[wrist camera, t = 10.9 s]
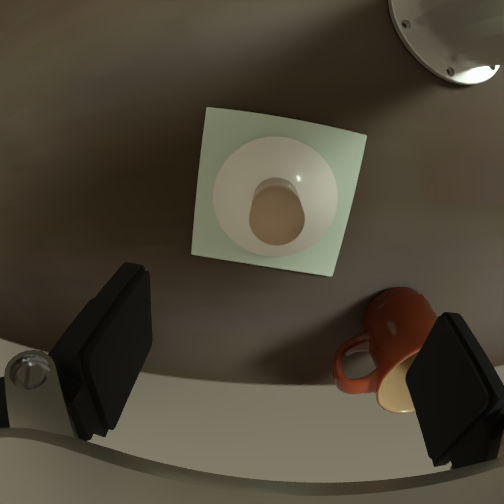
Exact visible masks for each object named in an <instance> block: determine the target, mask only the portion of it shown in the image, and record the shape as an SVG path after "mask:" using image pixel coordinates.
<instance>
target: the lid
mask: <svg viewBox="0 0 504 504" xmlns="http://www.w3.org/2000/svg"><path fill="white" fill-rule="evenodd" d="M213 203H214V209H215V213H216V216H217V219H218V221H219V223H220V225H221V227H222V228H223V230H224V231H225V233H226V234H227V235H228V236H229V237H230V238H231V239H232V240H233V241H234V242H235V243H236V244H238V245H239V246H241V247H242V248H244V249H246V250H248V251H250V252H252V253H255V254H258V255H263V256H269V257H282V256H289V255H293V254H296V253H299V252H301V251H304V250H306V249H307V248H309V247H311V246H312V245H313V244H315V243H316V242H317V241H318V240H319V239H320V238H322V236H323V235H324V234H325V233H326V232H327V230H328V229H329V227H330V225H331V223H332V221H333V219H334V217H335V213H336V210H337V204H338V191H337V185H336V181H335V177H334V175H333V173H332V170H331V169H330V167H329V165H328V164H327V162H326V161H325V160H324V159H323V157H322V156H321V155H320V154H319V153H317V152H316V151H315V150H314V149H312V148H311V147H310V146H308V145H306V144H305V143H303V142H301V141H298V140H296V139H293V138H288V137H283V136H267V137H261V138H258V139H255V140H252V141H250V142H248V143H245V144H244V145H242V146H241V147H239V148H238V149H237V150H235V151H234V152H233V153H232V154H231V155H230V156H229V157H228V158H227V160H226V161H225V162H224V164H223V165H222V167H221V168H220V170H219V172H218V174H217V177H216V180H215V184H214V190H213Z"/></svg>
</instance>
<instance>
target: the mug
mask: <svg viewBox="0 0 504 504" xmlns="http://www.w3.org/2000/svg"><path fill="white" fill-rule="evenodd" d="M437 318H438V317H437V315H436V314H435V312H434V311H433V309H432V308H431V306H430V304H429V302H428V301H427V300H426V299H425V298H424V296H423V295H422V294H419V293H418V292H417V291H415V290H413V289H411V288H407V287H396V288H392V289H389V290H387V291H384V292H383V293H381V294H380V295H378V296H377V297H376V298H375V299H374V300H373V301H372V302H371V303H370V304H369V306H368V307H367V309H366V311H365V314H364V318H363V330H364V332H363V333H360V334H358V335H356V336H354V337H353V338H351V339H350V340H348V341H346V342H345V343H343V344H342V345H341V346H340V347H339V348H338V350H337V351H336V353H335V356H334V359H333V378H334V382H335V385H336V386H337V388H338V389H339V390H341V391H342V392H344V393H347V394H362V393H371V392H374V393H376V398H377V403H378V404H379V405H380V406H381V407H382V408H383V409H385V410H387V411H389V412H393V413H410V412H416V411H415V408H414V405H413V402H412V399H411V396H410V393H409V390H408V387H407V384H406V381H405V377H406V373H407V371H408V369H409V367H410V366H411V364H412V363H413V361H414V359H415V357H416V356H417V354H418V352H419V351H420V349H421V347H422V345H423V344H424V342H425V340H426V338H427V336H428V335H429V333H430V331H431V329H432V327H433V325H434V323H435V321H436V320H437ZM363 351H364V352H368V353H370V355H371V357H372V359H373V361H374V364H375V366H376V369H375V370H374V371H373V372H371V373H370V374H369V375H367V376H365V377H363V378H359V379H349V378H347V377H345V375H344V373H343V366H342V365H343V362H344V360H345V359H346V357H347V356H349V355H350V354H353V353H355V352H363Z"/></svg>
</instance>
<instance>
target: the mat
mask: <svg viewBox="0 0 504 504" xmlns="http://www.w3.org/2000/svg"><path fill="white" fill-rule="evenodd" d="M267 136H283V137H288V138H293V139H296V140H298V141H301V142H303V143H305V144H306V145H308V146H310V147H311V148H312V149H314V150H315V151H316V152H317V153H319V154H320V155H321V156H322V157H323V159H324V160H325V161H326V162H327V164H328V165H329V167H330V169H331V170H332V173H333V175H334V177H335V181H336V185H337V191H338V204H337V210H336V213H335V217H334V219H333V221H332V223H331V225H330V227H329V229H328V230H327V232H326V233H325V234H324V235H323V236H322V238H320V239H319V240H318V241H317V242H316V243H315V244H313V245H312V246H311V247H309V248H307V249H306V250H304V251H301V252H299V253H296V254H293V255H289V256H282V257H269V256H263V255H258V254H255V253H252V252H250V251H248V250H246V249H244V248H242V247H241V246H239V245H238V244H236V243H235V242H234V241H233V240H232V239H231V238H230V237H229V236H228V235H227V234H226V233H225V231H224V230H223V228H222V227H221V225H220V223H219V221H218V219H217V216H216V213H215V209H214V203H213V190H214V184H215V180H216V177H217V174H218V172H219V170H220V168H221V167H222V165H223V164H224V162H225V161H226V160H227V158H228V157H229V156H230V155H231V154H232V153H233V152H234V151H235V150H237V149H238V148H239V147H241V146H242V145H244V144H245V143H248V142H250V141H252V140H255V139H258V138H261V137H267ZM366 138H367V135H363V134H360V133H356V132H352V131H347V130H343V129H339V128H335V127H330V126H326V125H321V124H316V123H311V122H306V121H301V120H296V119H290V118H285V117H279V116H273V115H266V114H260V113H253V112H246V111H238V110H230V109H221V108H212V107H207V108H206V115H205V123H204V131H203V139H202V147H201V155H200V164H199V173H198V183H197V193H196V203H195V214H194V225H193V238H192V251H191V255H198V256H204V257H210V258H216V259H222V260H228V261H235V262H241V263H247V264H254V265H260V266H266V267H273V268H279V269H286V270H292V271H299V272H305V273H312V274H318V275H325V276H331V277H332V275H333V272H334V269H335V265H336V262H337V258H338V255H339V251H340V247H341V244H342V240H343V236H344V233H345V229H346V225H347V221H348V217H349V213H350V209H351V205H352V201H353V197H354V193H355V189H356V184H357V180H358V176H359V171H360V167H361V162H362V157H363V153H364V148H365V143H366Z"/></svg>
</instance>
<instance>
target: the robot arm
mask: <svg viewBox="0 0 504 504" xmlns="http://www.w3.org/2000/svg"><path fill="white" fill-rule="evenodd" d="M388 5H389V13H390V16H391V19H392V22H393V25H394V27H395V29H396V31H397V33H398V35H399V37H400V39H401V40H402V42H403V43H404V45H405V46H406V48H407V49H408V50H409V52H410V53H411V54H412V55H413V56H414V57H415V59H416V60H417V61H418V62H420V63H421V64H422V65H423V66H424V67H425V68H426V69H428V70H429V71H430V72H432V73H433V74H435V75H436V76H438V77H440V78H442V79H444V80H446V81H449V82H452V83H455V84H462V85H473V84H479V83H483V82H485V81H487V80H488V79H490V78H491V77H493V75H494V74H495V73H496V72H497V71H498V68H499V66H500V65H504V0H388ZM402 24H403V25H404V27H405V28H404V27H403V26H402ZM447 72H448V73H447ZM151 345H152V321H151V299H150V273H149V271H145V268H144V266H143V265H139V264H134V263H129V262H125V263H124V264H123V265H122V266H121V267H120V268H119V269H118V270H117V272H116V273H115V274H114V275H113V276H112V278H111V279H110V280H109V281H108V282H107V284H106V285H105V286H104V287H103V288H102V290H101V291H100V292H99V293H98V294H97V296H96V297H95V298H93V299H91V300H90V301H89V302H88V303H87V305H86V306H85V307H84V308H83V310H82V311H81V312H80V313H79V315H78V316H77V317H76V318H75V320H74V321H73V322H72V323H71V325H70V326H69V327H68V329H67V330H66V331H65V332H64V334H63V335H62V336H61V338H60V339H59V340H58V342H57V343H56V344H55V346H54V347H53V348H52V350H51V351H50V352H49V354H48V355H47V354H46V353H44V352H42V351H36V350H31V351H25V352H22V353H19V354H18V355H16V356H14V357H13V358H12V359H11V360H10V361H9V362H8V364H7V366H6V369H5V375H4V377H1V378H0V504H504V385H503V383H502V381H501V380H500V378H499V376H498V374H497V372H496V371H495V369H494V367H493V366H492V364H491V362H490V360H489V359H488V357H487V355H486V354H485V352H484V351H483V349H482V347H481V346H480V344H479V342H478V341H477V339H476V338H475V336H474V335H473V333H472V331H471V330H470V328H469V327H468V325H467V324H466V322H465V321H464V319H463V318H462V316H461V315H460V314H458V313H450V312H445V313H443V314H442V315H441V316H439V317H438V318H437V320H436V321H435V323H434V325H433V327H432V329H431V331H430V333H429V335H428V336H427V338H426V340H425V342H424V344H423V345H422V347H421V349H420V351H419V352H418V354H417V356H416V357H415V359H414V361H413V363H412V364H411V366H410V367H409V369H408V371H407V373H406V377H405V381H406V384H407V387H408V390H409V393H410V396H411V399H412V402H413V405H414V408H415V411H416V415H417V418H418V421H419V424H420V428H421V431H422V434H423V438H424V441H425V445H426V448H427V452H428V455H429V457H430V458H431V459H432V461H433V464H434V467H436V466H441V465H446V464H447V463H449V462H450V461H451V463H452V466H451V467H450V470H448V471H443V472H437V473H432V474H426V475H420V476H413V477H405V478H397V479H388V480H378V481H365V482H346V483H345V482H343V483H305V482H304V483H303V482H283V481H268V480H258V479H249V478H240V477H233V476H226V475H219V474H213V473H207V472H202V471H197V470H192V469H187V468H181V467H177V466H173V465H168V464H163V463H160V462H155V461H152V460H148V459H144V458H140V457H136V456H133V455H130V454H126V453H123V452H120V451H117V450H113V449H110V448H107V447H103V446H100V445H96V444H93V443H90V442H88V440H90V439H91V438H92V436H93V434H97V435H100V436H102V437H106V434H107V432H108V430H109V429H110V430H113V429H114V428H115V427H116V424H117V422H118V420H119V418H120V415H121V413H122V411H123V408H124V406H125V404H126V402H127V399H128V397H129V395H130V393H131V390H132V388H133V386H134V384H135V381H136V379H137V377H138V375H139V373H140V370H141V368H142V366H143V364H144V362H145V359H146V357H147V355H148V353H149V351H150V348H151Z"/></svg>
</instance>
